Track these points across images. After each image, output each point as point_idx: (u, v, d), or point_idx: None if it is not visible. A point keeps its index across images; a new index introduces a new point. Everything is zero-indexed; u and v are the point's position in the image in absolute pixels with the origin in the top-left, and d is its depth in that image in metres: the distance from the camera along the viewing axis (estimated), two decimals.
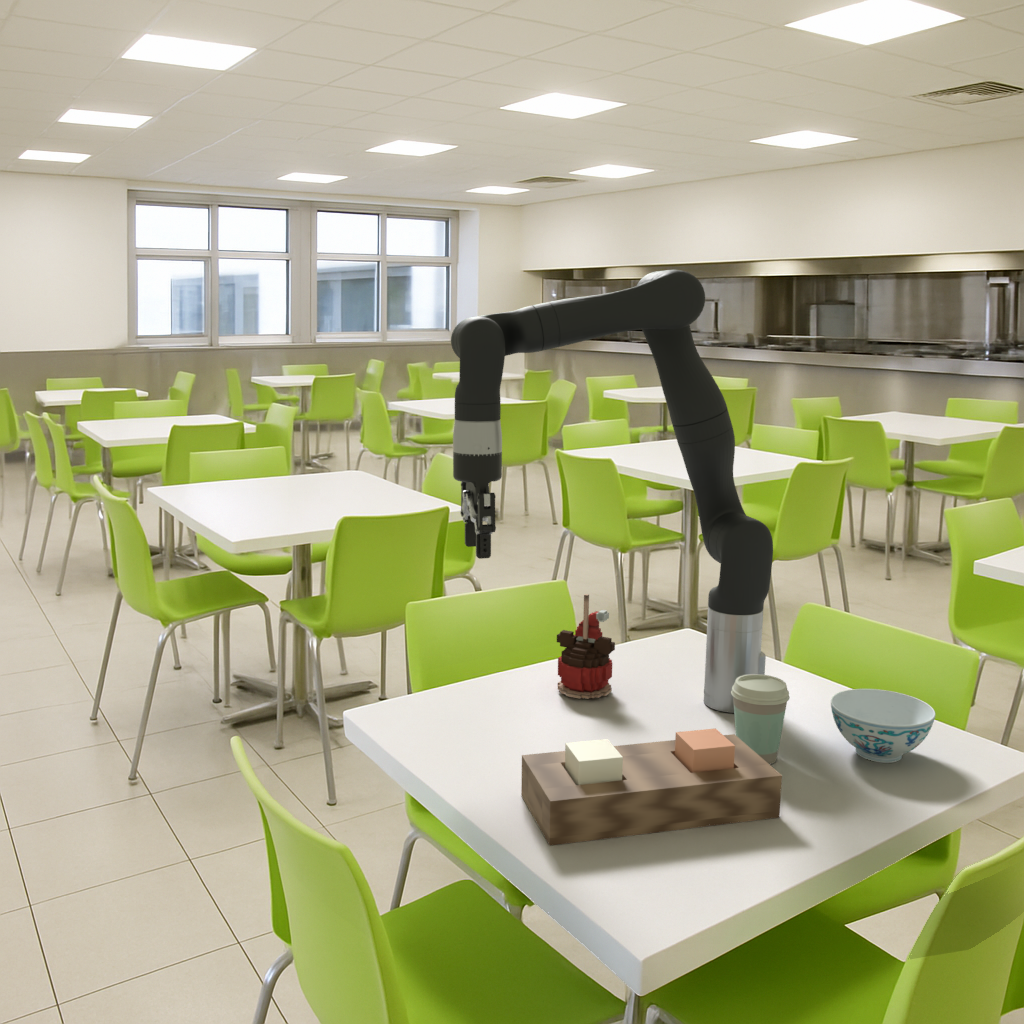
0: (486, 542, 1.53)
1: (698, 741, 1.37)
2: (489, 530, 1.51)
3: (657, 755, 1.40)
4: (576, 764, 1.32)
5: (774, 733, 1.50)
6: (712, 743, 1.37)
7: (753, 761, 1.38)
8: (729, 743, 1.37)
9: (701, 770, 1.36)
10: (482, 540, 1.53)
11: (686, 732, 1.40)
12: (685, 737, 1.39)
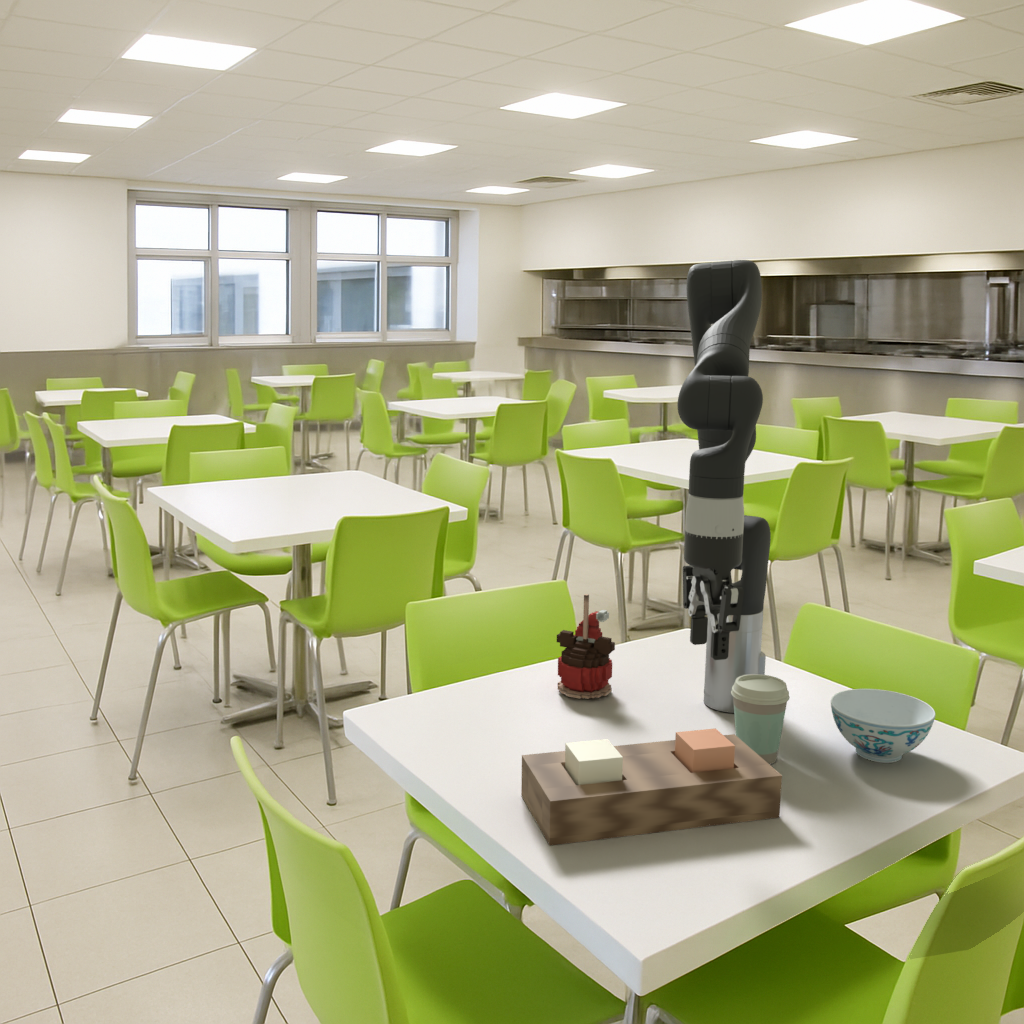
0: (725, 642, 1.32)
1: (698, 741, 1.37)
2: (732, 629, 1.29)
3: (657, 755, 1.40)
4: (576, 764, 1.32)
5: (774, 733, 1.50)
6: (712, 743, 1.37)
7: (753, 761, 1.38)
8: (729, 743, 1.37)
9: (701, 770, 1.36)
10: (721, 639, 1.31)
11: (686, 732, 1.40)
12: (685, 737, 1.39)
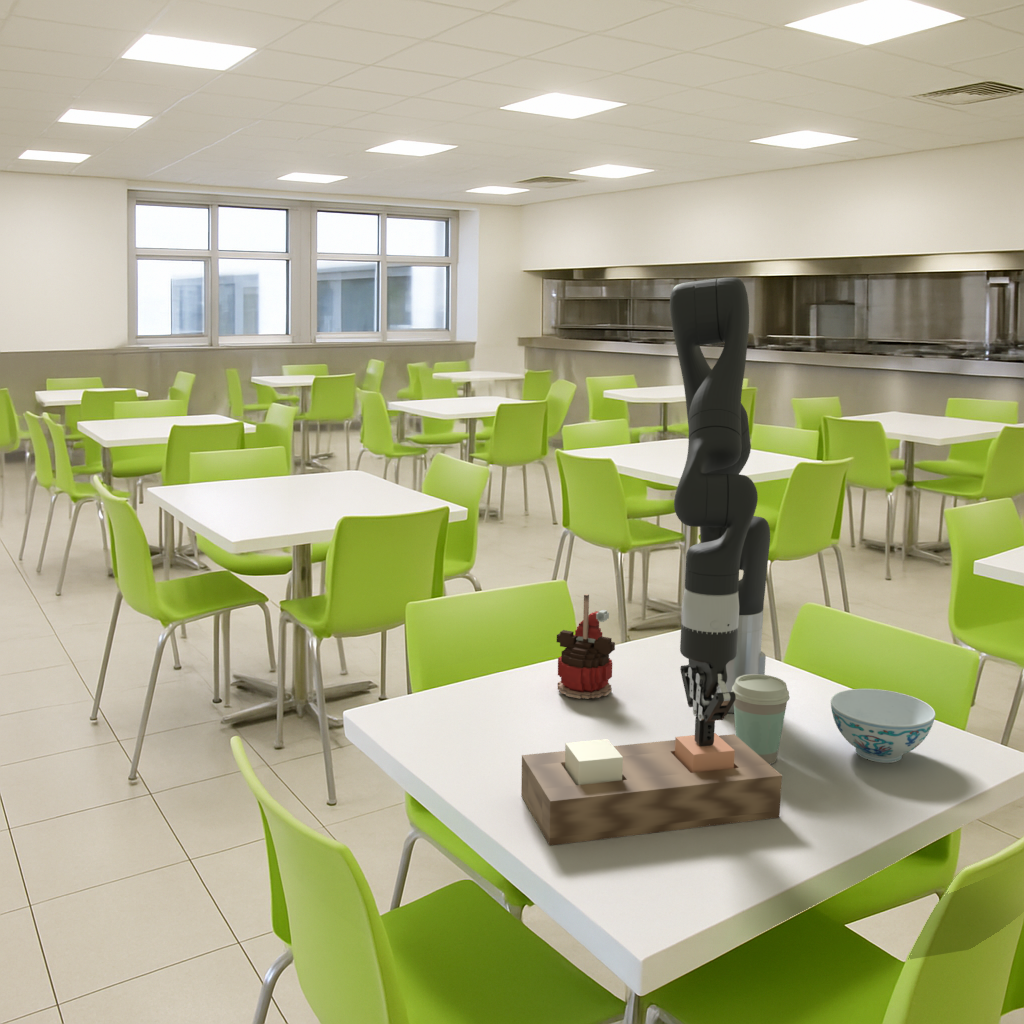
0: (710, 729, 1.37)
1: (698, 746, 1.38)
2: (717, 718, 1.35)
3: (657, 755, 1.40)
4: (576, 764, 1.32)
5: (774, 733, 1.50)
6: (712, 748, 1.37)
7: (753, 761, 1.38)
8: (728, 748, 1.37)
9: None
10: (706, 727, 1.37)
11: (686, 737, 1.41)
12: (684, 742, 1.39)
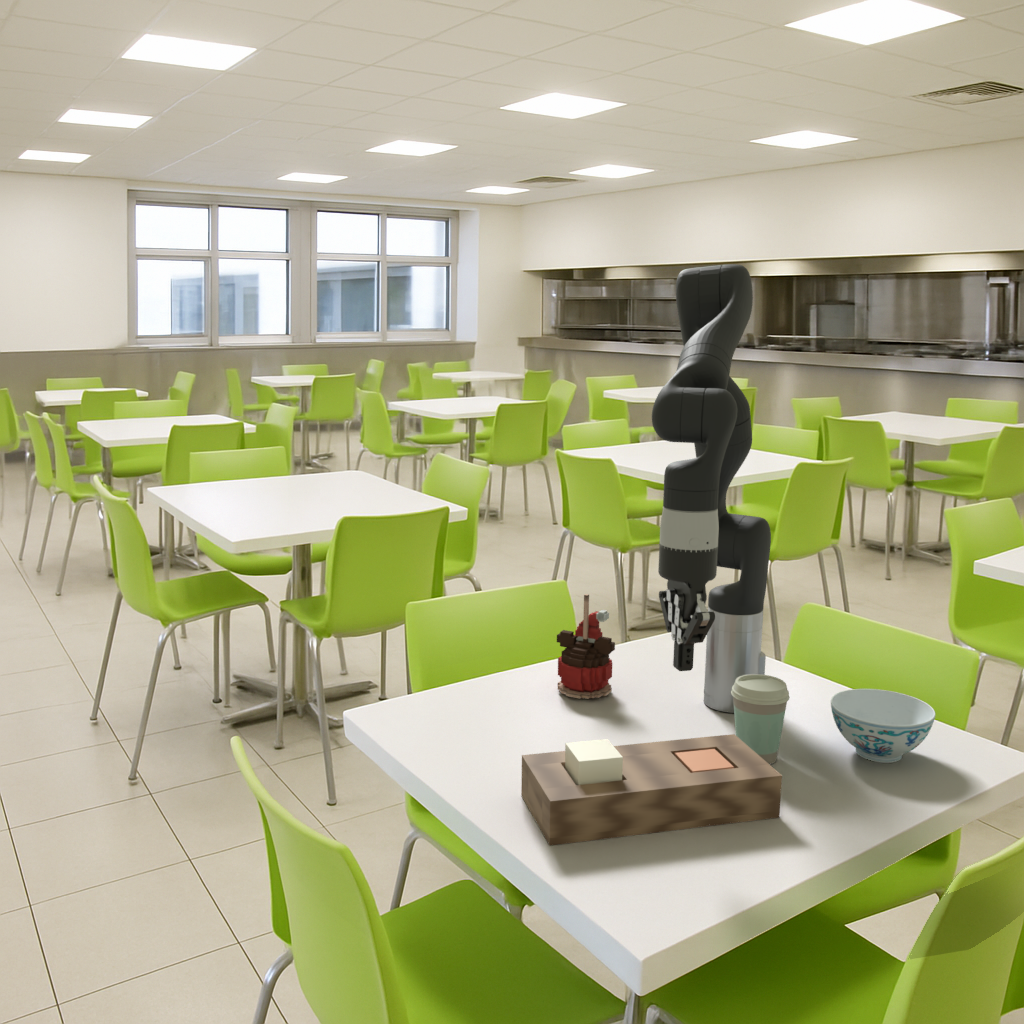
0: (689, 653, 1.33)
1: (697, 762, 1.38)
2: (696, 641, 1.31)
3: (657, 755, 1.40)
4: (576, 764, 1.32)
5: (774, 733, 1.50)
6: (711, 764, 1.37)
7: (753, 761, 1.38)
8: (728, 764, 1.37)
9: None
10: (685, 651, 1.33)
11: (685, 753, 1.41)
12: (684, 758, 1.39)
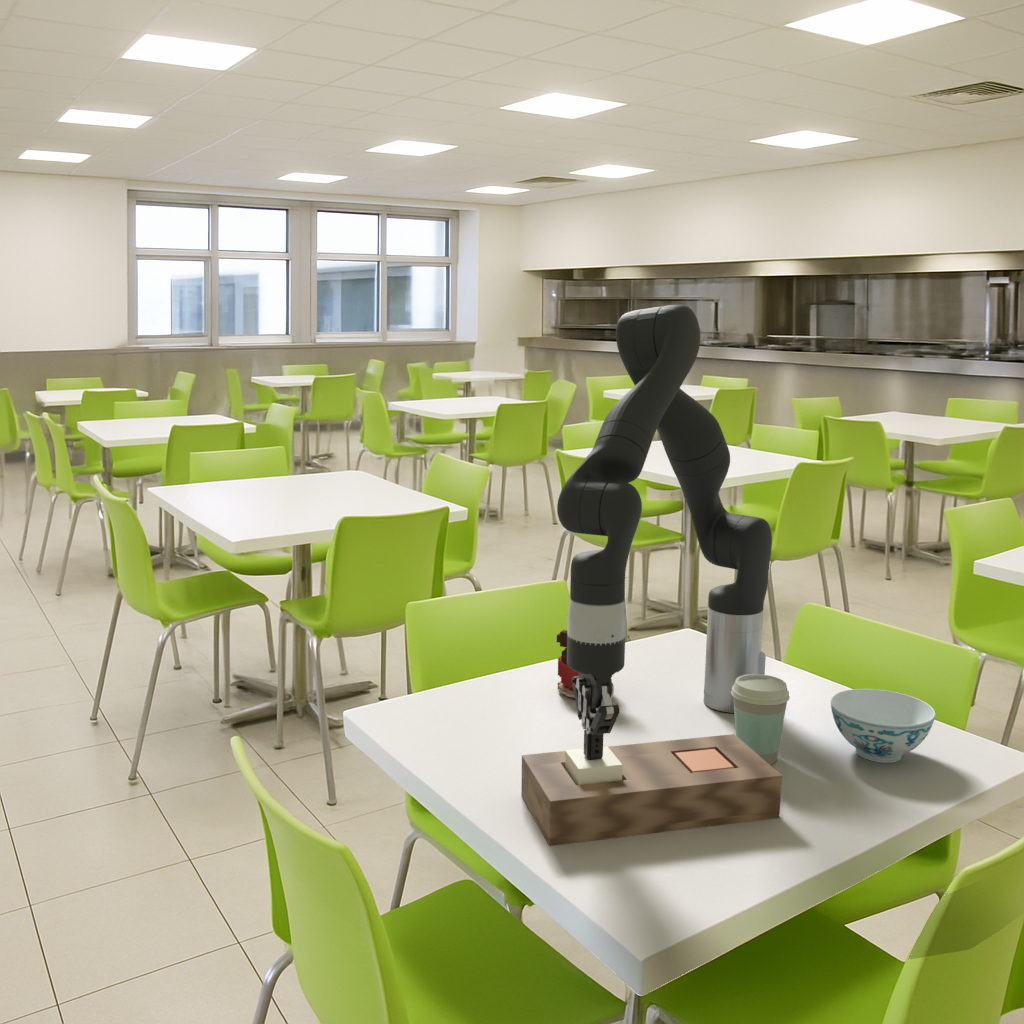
0: (598, 743, 1.33)
1: (697, 762, 1.38)
2: (604, 732, 1.31)
3: (657, 755, 1.40)
4: (575, 771, 1.32)
5: (774, 733, 1.50)
6: (711, 764, 1.37)
7: (753, 761, 1.38)
8: (728, 764, 1.37)
9: None
10: (594, 741, 1.33)
11: (685, 753, 1.41)
12: (684, 758, 1.39)
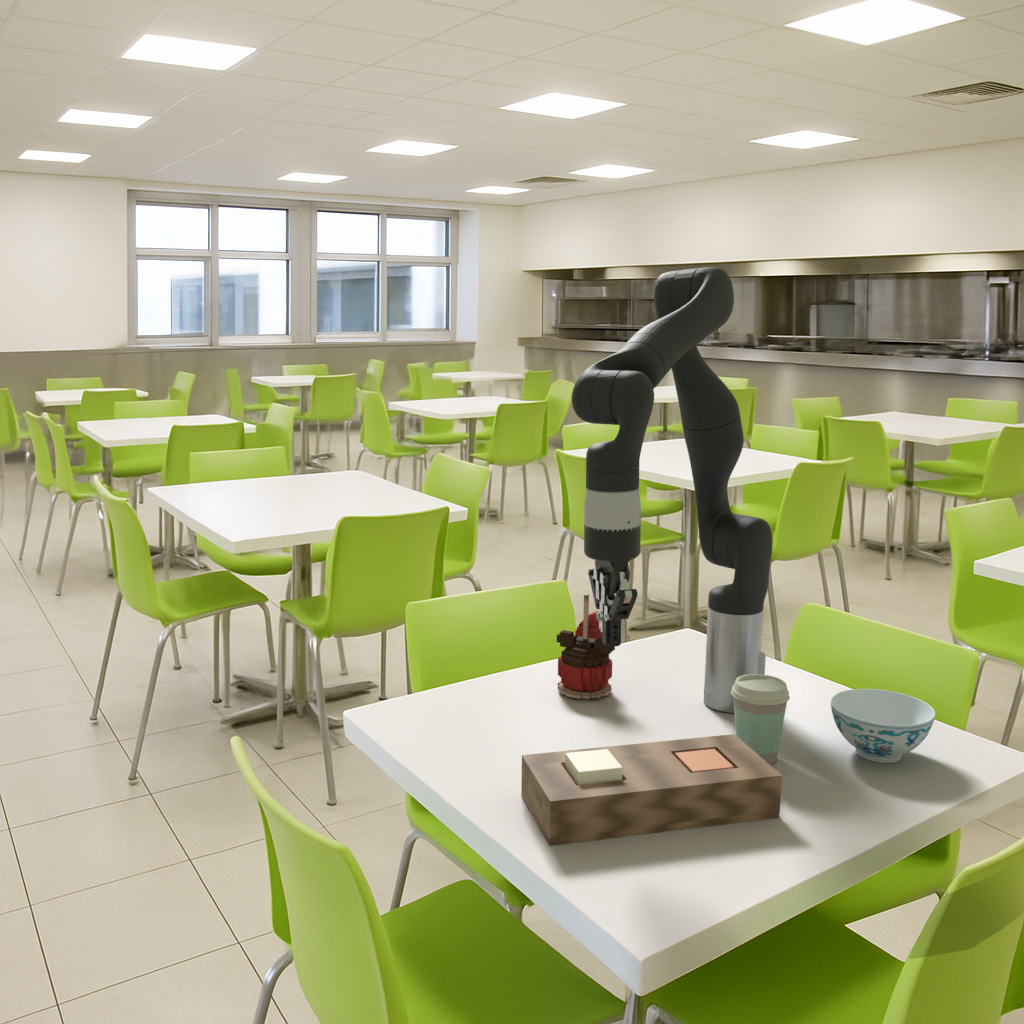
0: (617, 629, 1.37)
1: (697, 762, 1.38)
2: (622, 617, 1.35)
3: (657, 755, 1.40)
4: (575, 774, 1.33)
5: (774, 733, 1.50)
6: (711, 764, 1.37)
7: (753, 761, 1.38)
8: (728, 764, 1.37)
9: None
10: (612, 627, 1.36)
11: (685, 753, 1.41)
12: (684, 758, 1.39)
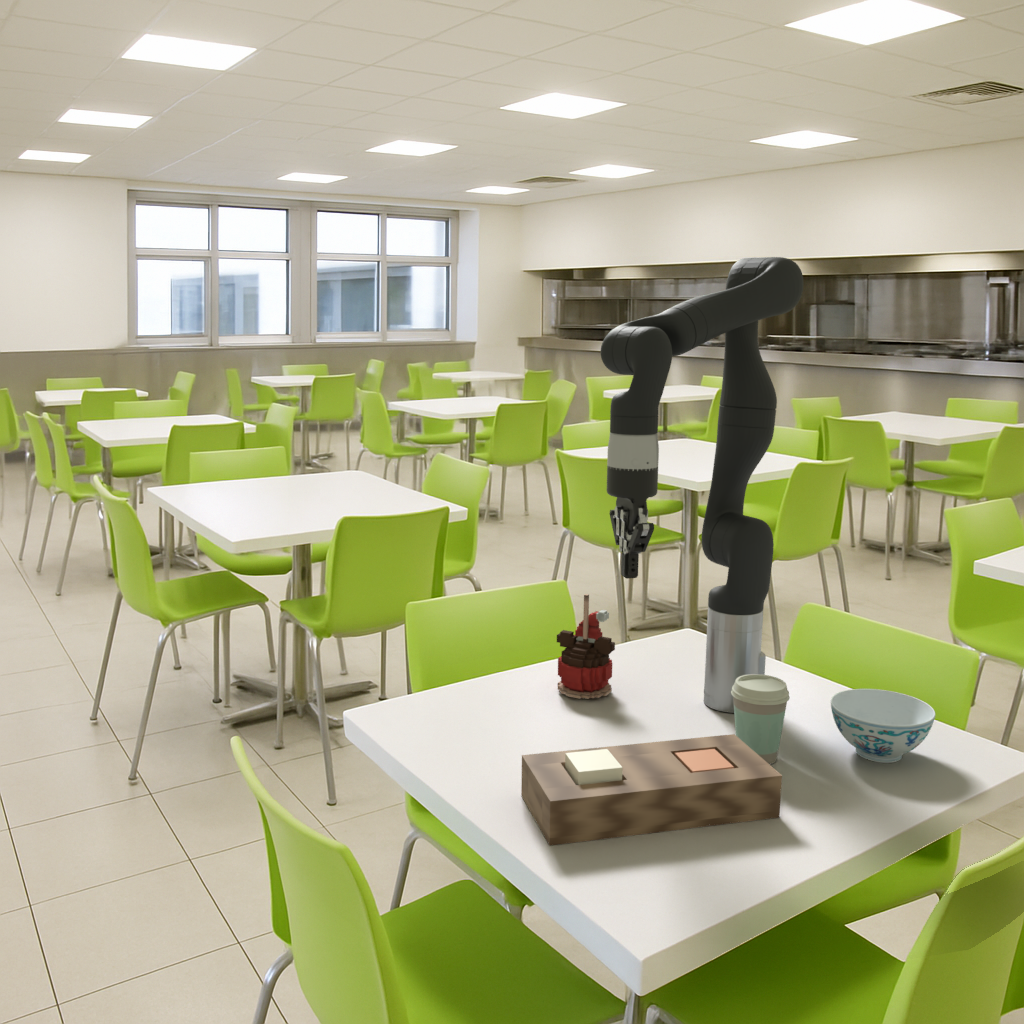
0: (634, 562, 1.51)
1: (697, 762, 1.38)
2: (639, 550, 1.49)
3: (657, 755, 1.40)
4: (575, 774, 1.33)
5: (774, 733, 1.50)
6: (711, 764, 1.37)
7: (753, 761, 1.38)
8: (728, 764, 1.37)
9: None
10: (630, 560, 1.51)
11: (685, 753, 1.41)
12: (684, 758, 1.39)
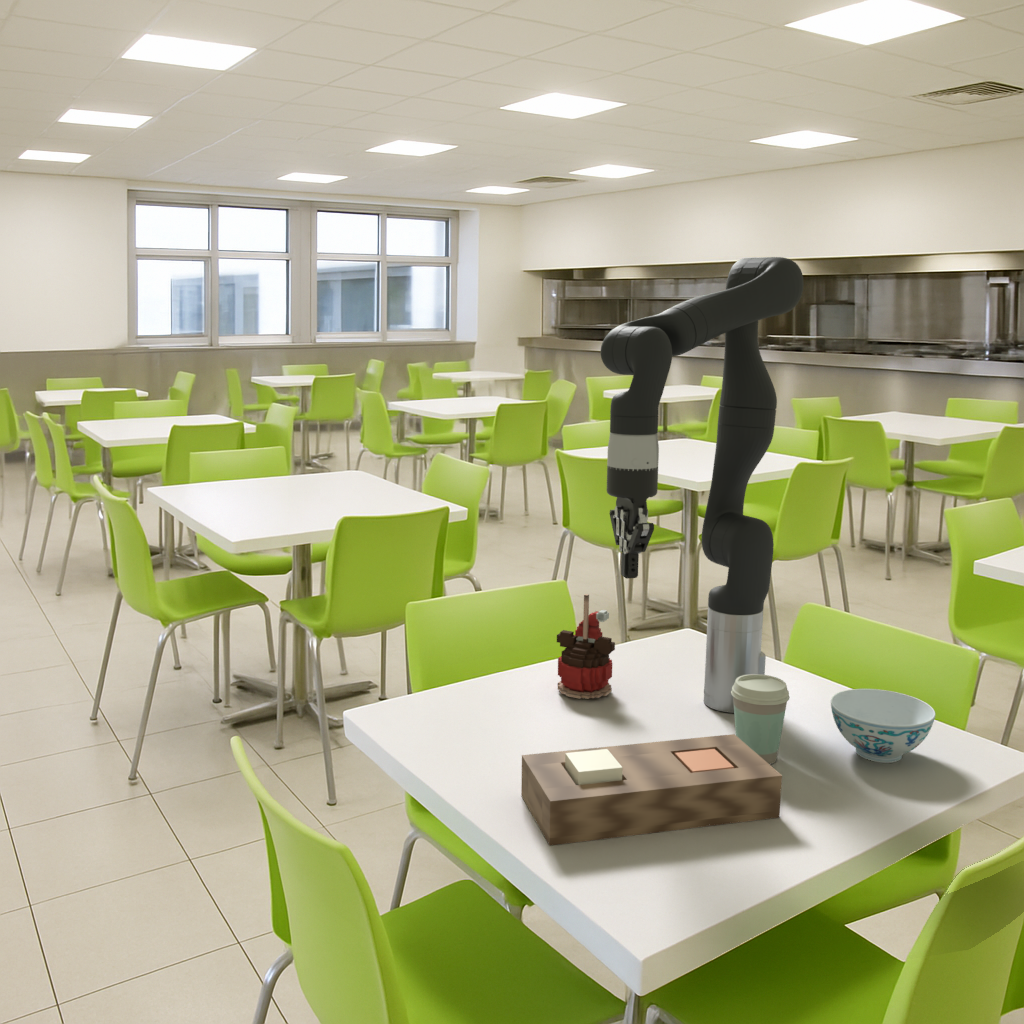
0: (634, 562, 1.51)
1: (697, 762, 1.38)
2: (639, 550, 1.49)
3: (657, 755, 1.40)
4: (575, 774, 1.33)
5: (774, 733, 1.50)
6: (711, 764, 1.37)
7: (753, 761, 1.38)
8: (728, 764, 1.37)
9: None
10: (630, 560, 1.51)
11: (685, 753, 1.41)
12: (684, 758, 1.39)
